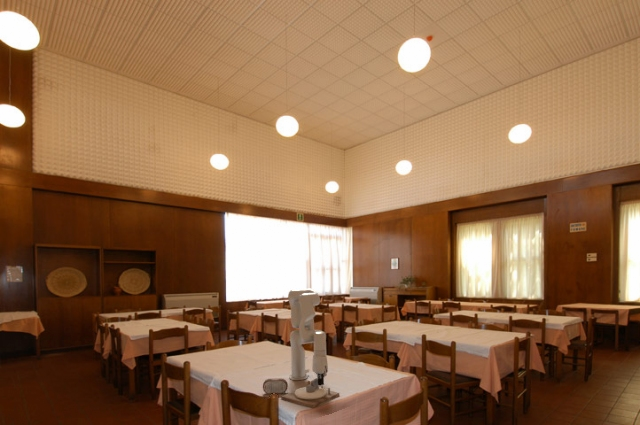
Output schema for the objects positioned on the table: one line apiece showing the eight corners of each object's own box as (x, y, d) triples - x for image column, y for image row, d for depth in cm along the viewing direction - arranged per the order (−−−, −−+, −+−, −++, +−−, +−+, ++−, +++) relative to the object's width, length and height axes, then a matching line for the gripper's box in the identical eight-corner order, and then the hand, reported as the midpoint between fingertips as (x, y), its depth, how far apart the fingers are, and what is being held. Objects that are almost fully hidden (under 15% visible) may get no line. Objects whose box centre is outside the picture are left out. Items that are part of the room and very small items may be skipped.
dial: (317, 401, 209) (316, 388, 210) (289, 396, 217) (289, 385, 218) (331, 391, 225) (330, 379, 226) (304, 387, 233) (304, 376, 234)
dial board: (308, 388, 238) (308, 378, 239) (339, 395, 223) (339, 385, 224) (281, 399, 219) (281, 388, 220) (313, 408, 204) (312, 396, 205)
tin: (287, 392, 231) (287, 377, 232) (287, 394, 228) (287, 379, 229) (263, 393, 231) (263, 378, 232) (262, 394, 227) (262, 380, 229)
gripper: (307, 351, 233) (308, 383, 231) (322, 355, 222) (323, 389, 219) (317, 350, 238) (318, 381, 235) (332, 353, 226) (333, 386, 223)
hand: (320, 384), depth 227 cm, fingers closed
